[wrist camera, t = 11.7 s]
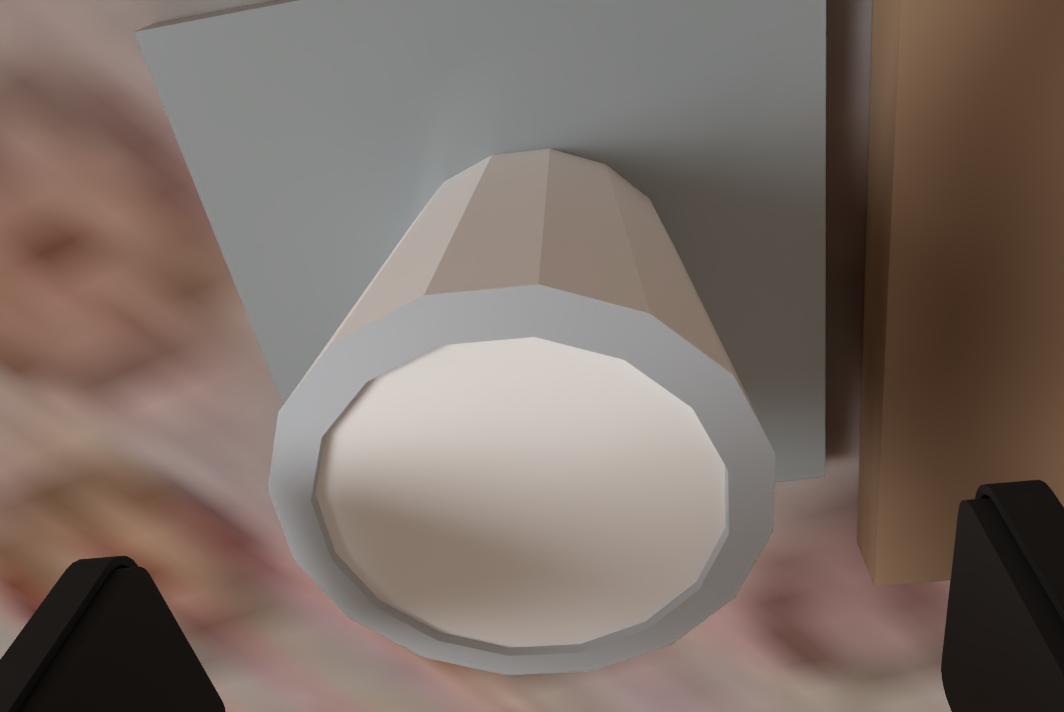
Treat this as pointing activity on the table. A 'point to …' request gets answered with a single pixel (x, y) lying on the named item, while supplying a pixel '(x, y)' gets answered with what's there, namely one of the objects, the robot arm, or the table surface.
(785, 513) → the table surface
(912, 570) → the pocket board
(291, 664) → the table surface
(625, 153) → the ceramic tile
